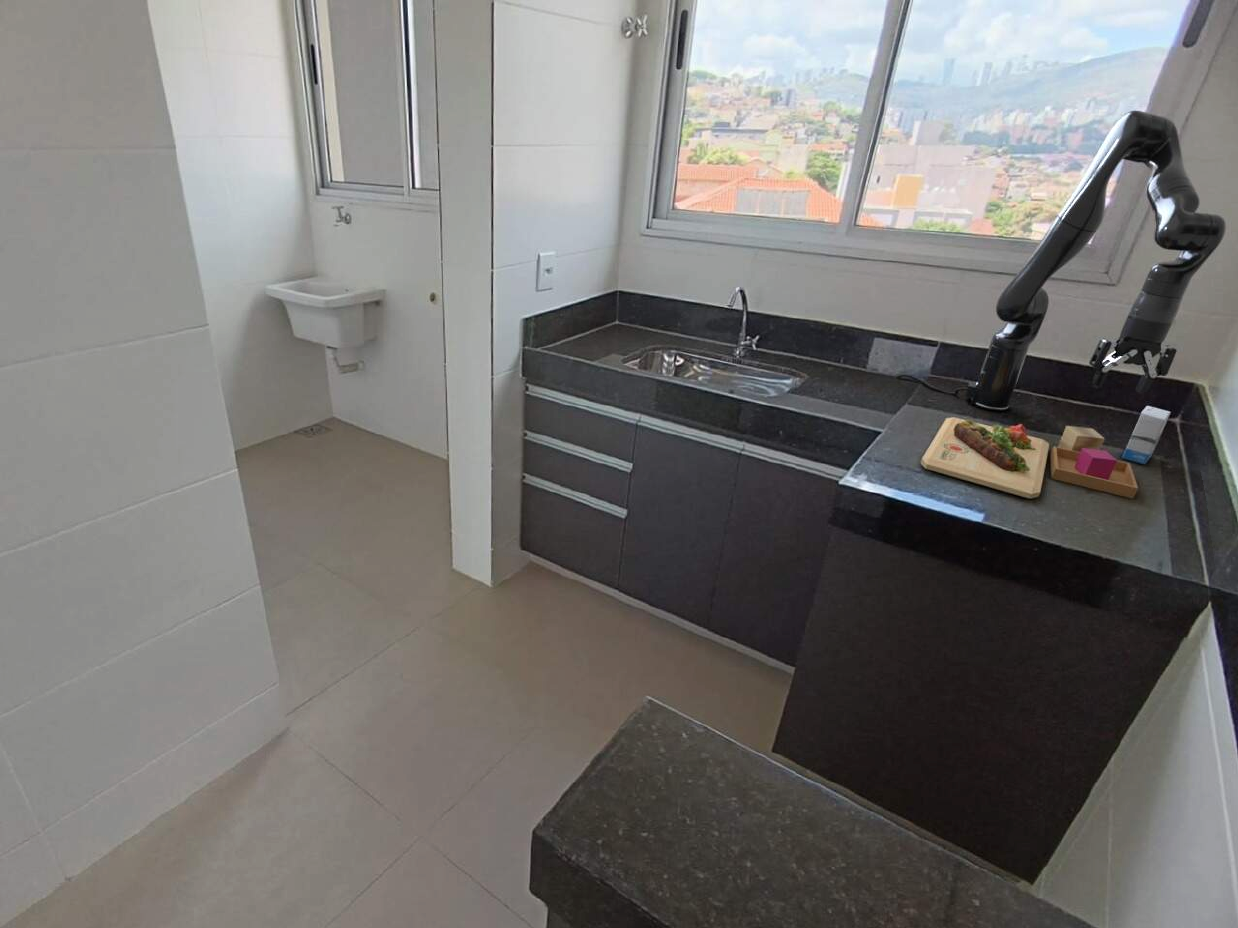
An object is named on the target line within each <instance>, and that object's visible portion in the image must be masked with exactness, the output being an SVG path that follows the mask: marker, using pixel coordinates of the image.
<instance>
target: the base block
mask: <svg viewBox="0 0 1238 928" xmlns="http://www.w3.org/2000/svg"><path fill="white" fill-rule="evenodd" d="M1104 442H1105V437H1104V436H1102V435H1101V434H1100V433H1099V432H1097V431H1096V430H1095V429H1094V428H1090V427H1081V426H1071V425H1065V428H1064V431H1063V433H1062V435H1061V438H1060V440H1059V443H1058V445H1057V447H1060V448H1064V449H1069V450H1073V451H1078V452H1081V450H1082V448H1086V449H1095V450H1102V449H1101V448H1102V446H1103V444H1104Z"/></svg>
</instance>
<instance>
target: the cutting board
mask: <svg viewBox="0 0 1238 928" xmlns="http://www.w3.org/2000/svg"><path fill="white" fill-rule="evenodd" d="M1049 448H1050V443H1049V442H1047V441H1046V440H1044V439H1043V438H1038V437H1035V436H1031V435H1027V428H1026V427H1025V426H1024V425H1023V424H1022V423H1019V424H1018V425H1011V426H1010V427H1009V428H1008V427H1003V426H1002V425H1000V424H994V425H993V426H991V425H986V424H983V423H979V422H975V421H972V420H971V419H962V418H958V417H947V418H945V419H944V421H943V423H942V425H941V426H940V427H939V430H938V431H937V433H936V434H935V436H934V438H933V440H932V441H931V443H930V444H929V446H928V448H927V450H925V453H924V455H923V456H922V458H921V460H920V464H921V466H922V467H923V468H924V469H926V470H929V471H933V472H935V473H939V474H943V475H945V476H949V477H953V478H956V479H960V480H962V481H963V480H964V481H966V482H971V483H974V484H977V485H981V486H985V487H988V488H990V489H991V488H992V489H995V490H998V491H1001V492H1004V493H1008V494H1012V495H1016V496H1019V497H1022V498H1026V499H1030V500H1031V499H1034V498H1039V497H1040V494H1041V490H1042V486H1043V480H1044V475H1045V470H1046V464H1047V459H1048V455H1049V454H1048V453H1049Z"/></svg>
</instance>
